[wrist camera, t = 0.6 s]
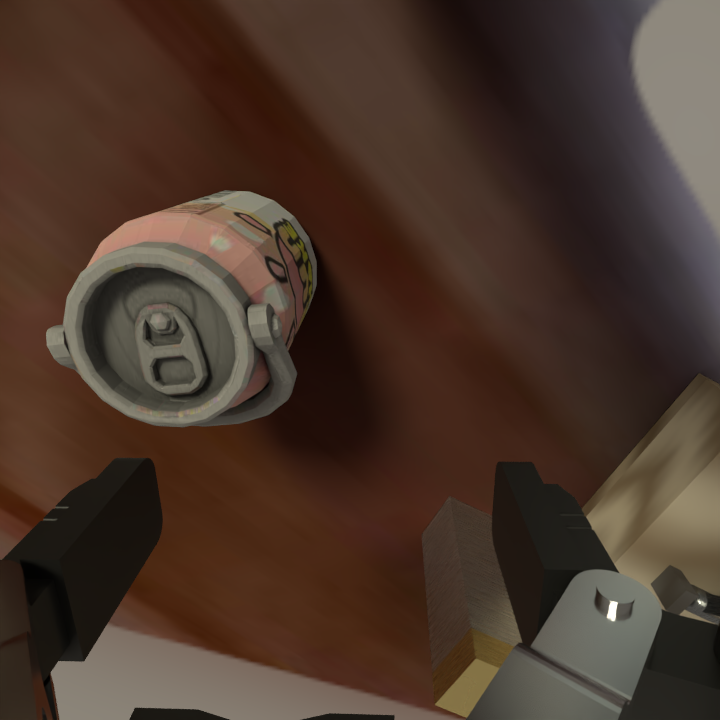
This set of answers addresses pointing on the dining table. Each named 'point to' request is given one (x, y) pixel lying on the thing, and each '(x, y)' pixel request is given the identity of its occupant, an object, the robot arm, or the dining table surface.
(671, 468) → the block
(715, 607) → the lever
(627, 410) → the dining table surface
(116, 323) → the beverage can
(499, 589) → the pin
